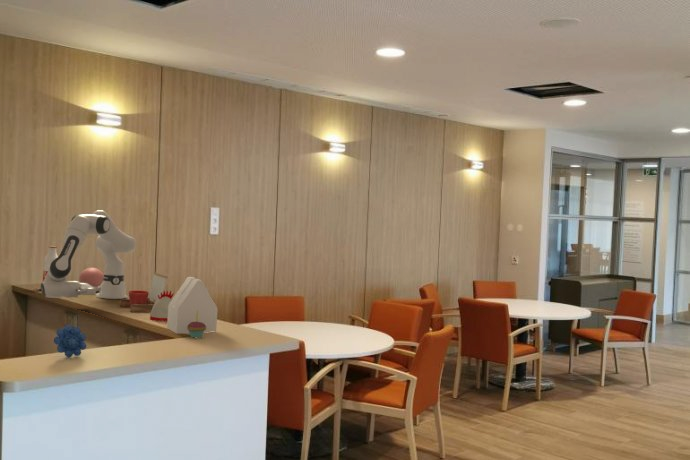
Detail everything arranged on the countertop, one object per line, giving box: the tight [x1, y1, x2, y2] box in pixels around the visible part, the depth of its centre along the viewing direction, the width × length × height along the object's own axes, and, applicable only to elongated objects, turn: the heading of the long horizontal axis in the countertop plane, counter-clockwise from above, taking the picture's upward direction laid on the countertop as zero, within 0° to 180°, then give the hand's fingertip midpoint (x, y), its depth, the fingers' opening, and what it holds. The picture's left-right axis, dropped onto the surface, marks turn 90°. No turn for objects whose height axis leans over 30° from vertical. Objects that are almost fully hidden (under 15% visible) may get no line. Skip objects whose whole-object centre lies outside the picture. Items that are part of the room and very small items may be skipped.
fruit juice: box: [42, 245, 59, 282], centre depth 440 cm, size 9×9×28 cm
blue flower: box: [53, 324, 87, 358], centre depth 250 cm, size 12×7×12 cm, turn 125°
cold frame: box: [119, 298, 156, 313], centre depth 382 cm, size 23×16×5 cm
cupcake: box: [187, 312, 206, 338], centre depth 308 cm, size 9×8×12 cm
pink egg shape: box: [78, 267, 105, 287], centre depth 447 cm, size 15×20×15 cm
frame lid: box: [148, 272, 168, 302], centre depth 387 cm, size 21×15×1 cm
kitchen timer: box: [149, 290, 175, 322], centre depth 353 cm, size 14×14×15 cm
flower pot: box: [128, 290, 150, 308], centre depth 382 cm, size 11×11×10 cm
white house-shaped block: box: [166, 276, 219, 335], centre depth 325 cm, size 19×15×25 cm
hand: (100, 288), depth 371 cm, fingers closed
